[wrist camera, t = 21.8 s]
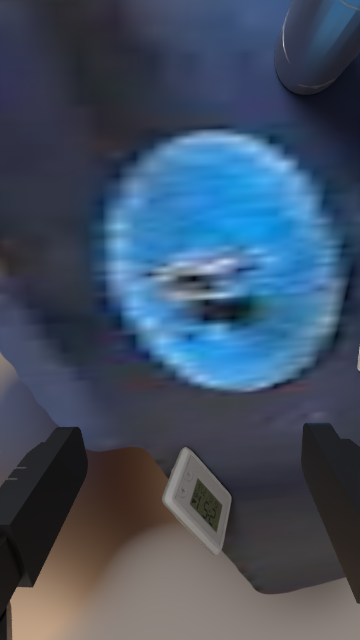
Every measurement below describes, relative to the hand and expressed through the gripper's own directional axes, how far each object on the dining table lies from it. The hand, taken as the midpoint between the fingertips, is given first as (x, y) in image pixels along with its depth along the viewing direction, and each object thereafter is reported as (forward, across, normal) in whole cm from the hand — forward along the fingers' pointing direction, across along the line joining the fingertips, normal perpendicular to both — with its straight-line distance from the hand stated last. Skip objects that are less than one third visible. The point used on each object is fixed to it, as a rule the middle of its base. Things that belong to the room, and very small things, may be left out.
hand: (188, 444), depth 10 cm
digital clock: (+36, +2, +40) cm, 54 cm away
